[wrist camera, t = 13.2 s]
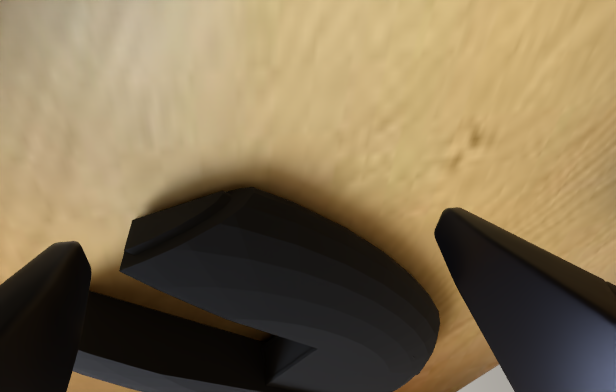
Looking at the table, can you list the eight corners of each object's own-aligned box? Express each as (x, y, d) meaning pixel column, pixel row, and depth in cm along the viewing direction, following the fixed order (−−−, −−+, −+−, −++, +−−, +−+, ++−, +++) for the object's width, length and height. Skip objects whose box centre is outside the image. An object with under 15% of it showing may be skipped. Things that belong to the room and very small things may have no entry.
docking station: (331, 403, 49) (342, 442, 45) (14, 347, 25) (-21, 419, 22) (473, 315, 42) (499, 352, 38) (213, 125, 18) (214, 173, 15)
